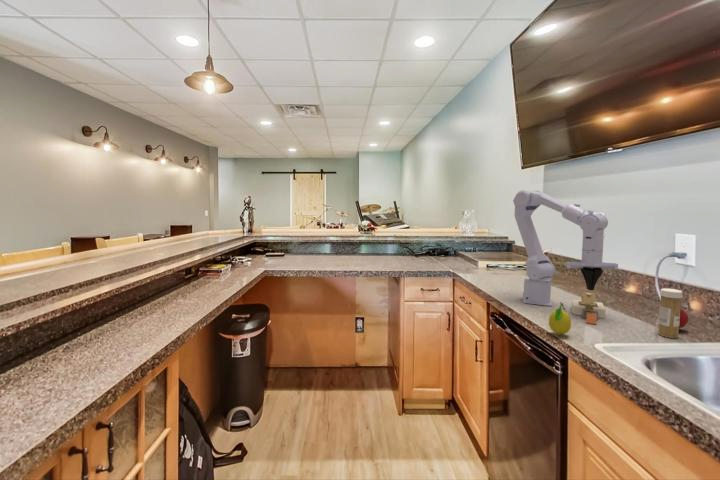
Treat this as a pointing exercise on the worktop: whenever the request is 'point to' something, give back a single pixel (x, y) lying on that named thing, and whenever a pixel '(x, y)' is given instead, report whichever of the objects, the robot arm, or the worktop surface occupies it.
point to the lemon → (560, 321)
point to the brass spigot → (588, 300)
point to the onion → (683, 318)
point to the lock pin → (591, 318)
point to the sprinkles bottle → (669, 312)
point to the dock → (578, 308)
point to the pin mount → (589, 312)
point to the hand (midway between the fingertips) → (590, 289)
